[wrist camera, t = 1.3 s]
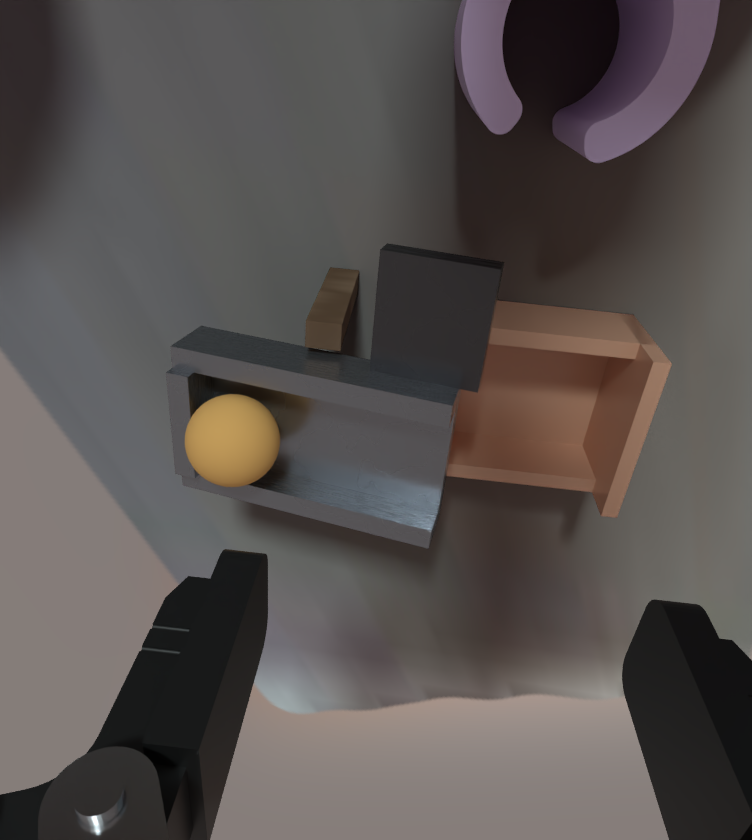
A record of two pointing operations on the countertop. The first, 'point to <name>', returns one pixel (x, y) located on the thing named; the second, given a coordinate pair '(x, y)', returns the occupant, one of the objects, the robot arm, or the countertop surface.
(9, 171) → the countertop surface
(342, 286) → the stand
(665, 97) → the clip
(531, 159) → the countertop surface
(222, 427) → the ball
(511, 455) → the cup
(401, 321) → the tipping track
